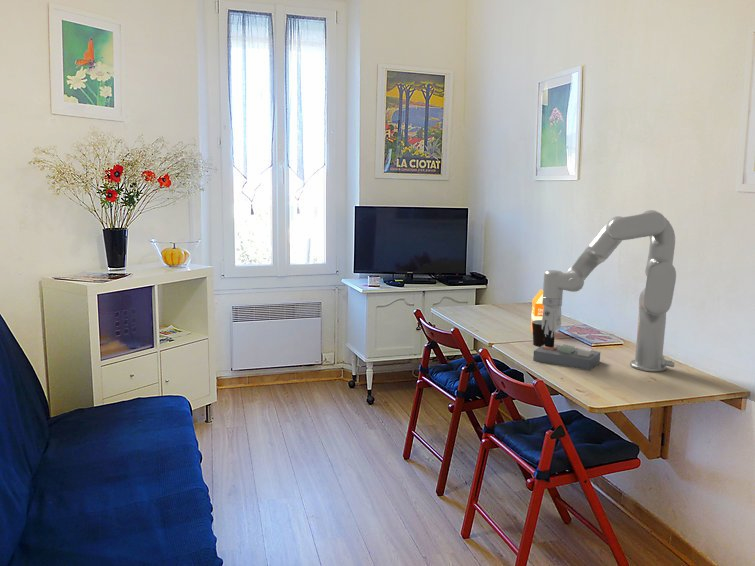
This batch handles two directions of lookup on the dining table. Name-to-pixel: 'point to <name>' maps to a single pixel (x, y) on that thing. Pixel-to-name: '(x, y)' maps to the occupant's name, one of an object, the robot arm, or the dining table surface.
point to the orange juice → (537, 307)
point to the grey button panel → (566, 358)
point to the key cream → (585, 352)
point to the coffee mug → (538, 333)
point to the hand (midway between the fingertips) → (549, 346)
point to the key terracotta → (550, 348)
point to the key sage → (567, 349)
